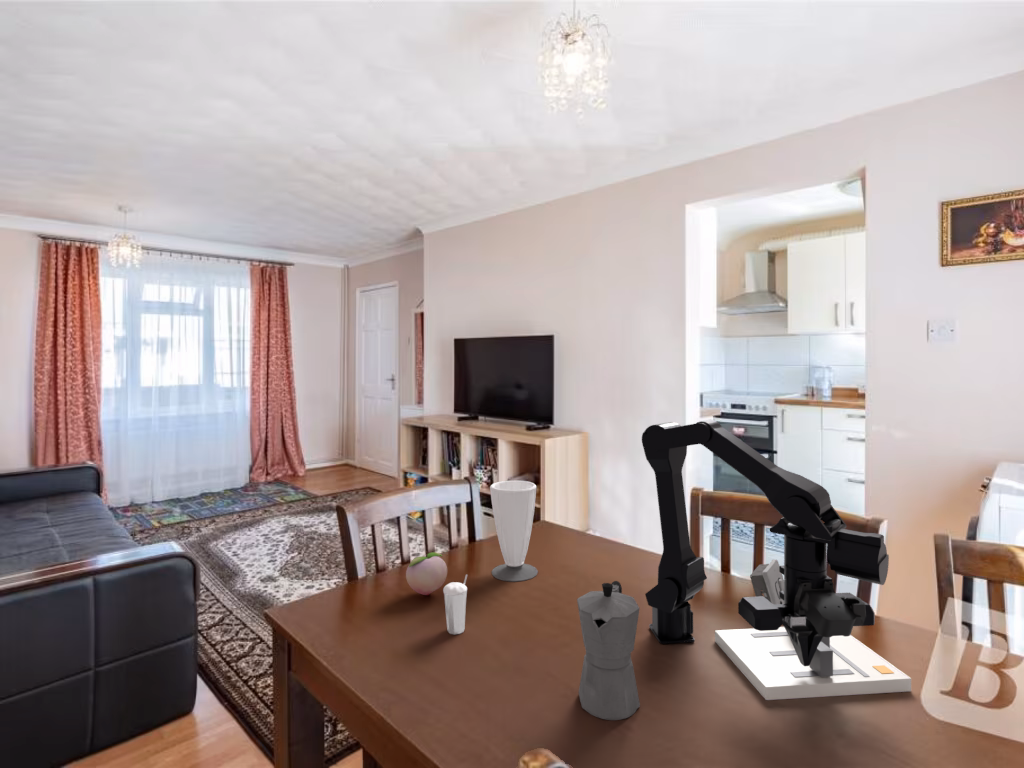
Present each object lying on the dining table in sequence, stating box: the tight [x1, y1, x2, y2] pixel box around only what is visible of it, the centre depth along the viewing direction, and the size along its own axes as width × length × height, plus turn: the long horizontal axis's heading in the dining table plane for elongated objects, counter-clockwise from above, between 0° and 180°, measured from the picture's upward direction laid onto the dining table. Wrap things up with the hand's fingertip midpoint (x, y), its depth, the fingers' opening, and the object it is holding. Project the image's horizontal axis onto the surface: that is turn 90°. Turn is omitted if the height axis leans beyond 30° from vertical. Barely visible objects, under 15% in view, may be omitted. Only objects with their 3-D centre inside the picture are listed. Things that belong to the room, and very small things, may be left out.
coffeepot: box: [576, 580, 641, 721], centre depth 80 cm, size 15×9×18 cm, turn 159°
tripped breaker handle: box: [810, 642, 833, 677], centre depth 82 cm, size 2×3×4 cm
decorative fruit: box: [405, 550, 448, 596], centre depth 117 cm, size 9×8×10 cm
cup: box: [489, 479, 539, 583], centre depth 129 cm, size 12×12×22 cm
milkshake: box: [442, 574, 468, 636], centre depth 102 cm, size 4×5×10 cm
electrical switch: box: [749, 559, 784, 604], centre depth 108 cm, size 9×5×9 cm, turn 141°
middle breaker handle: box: [821, 637, 830, 648], centre depth 88 cm, size 2×3×4 cm
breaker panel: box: [714, 626, 912, 701], centre depth 88 cm, size 23×17×2 cm
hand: (804, 664), depth 82 cm, fingers closed
